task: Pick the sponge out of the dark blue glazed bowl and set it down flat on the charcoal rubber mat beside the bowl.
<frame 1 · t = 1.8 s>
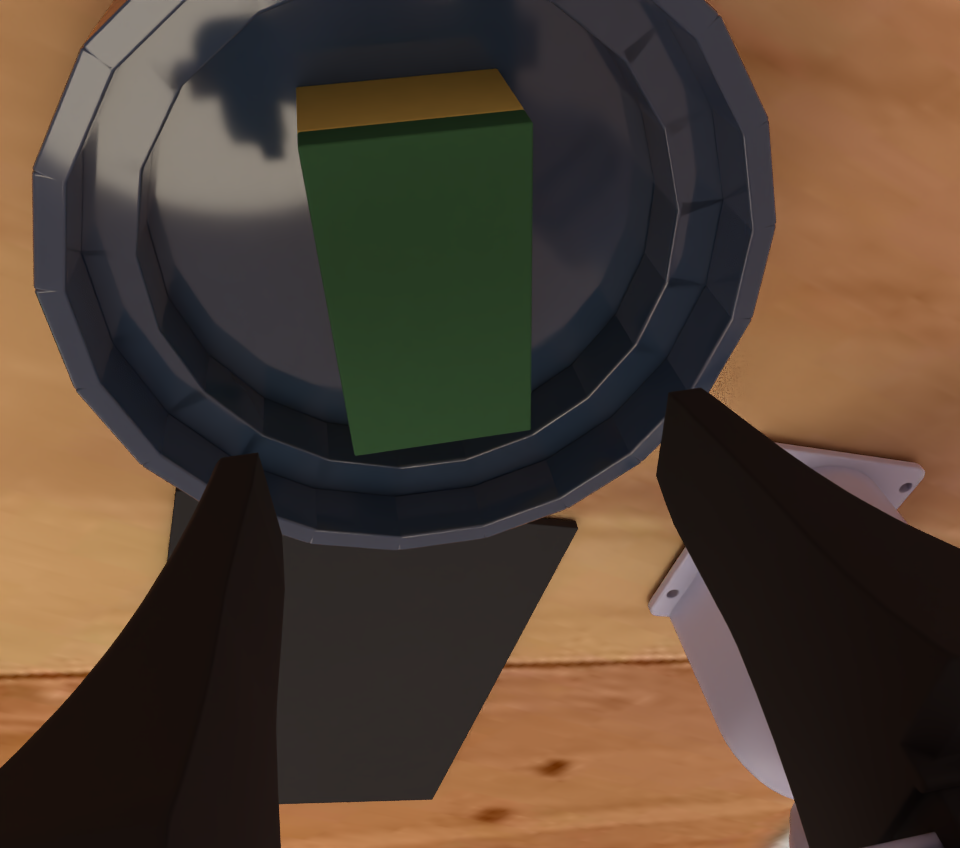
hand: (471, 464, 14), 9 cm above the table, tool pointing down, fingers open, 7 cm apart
drying mat: (334, 674, 33), on the table
bowl: (411, 227, 21), on the table
sponge: (413, 237, 21), point 1 cm above the table, touching bowl
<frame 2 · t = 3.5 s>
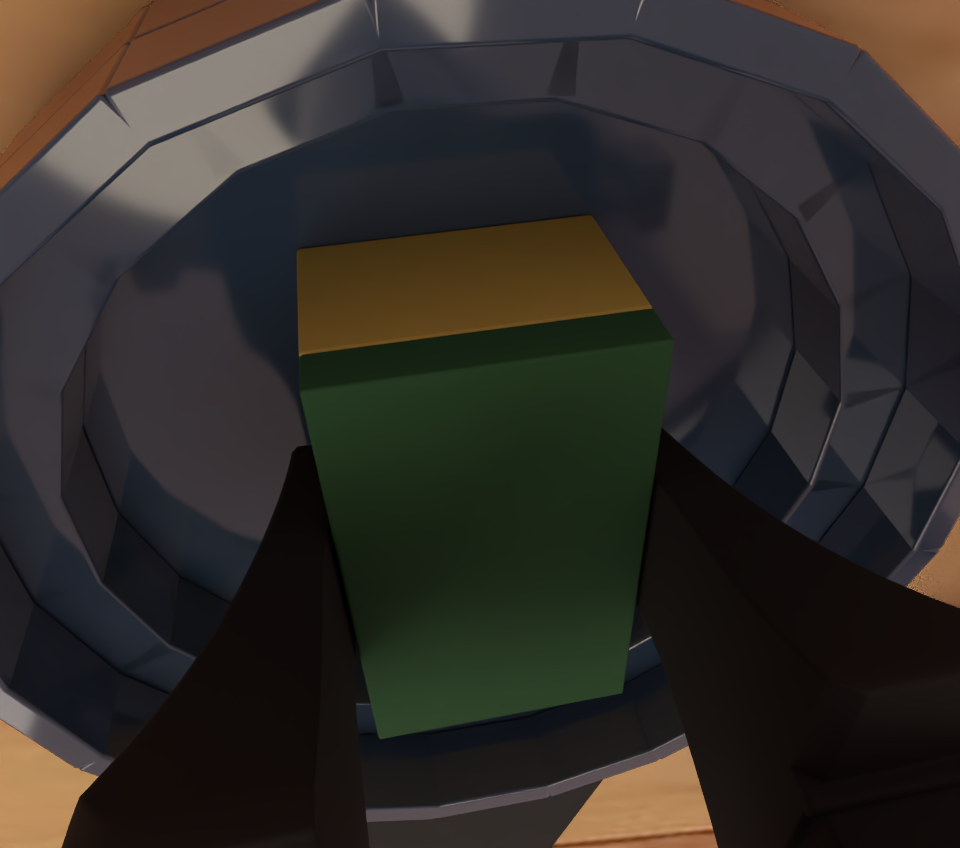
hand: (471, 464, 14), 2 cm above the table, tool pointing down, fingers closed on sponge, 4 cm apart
bowl: (456, 407, 15), on the table
sponge: (460, 428, 15), point 1 cm above the table, touching bowl, gripper
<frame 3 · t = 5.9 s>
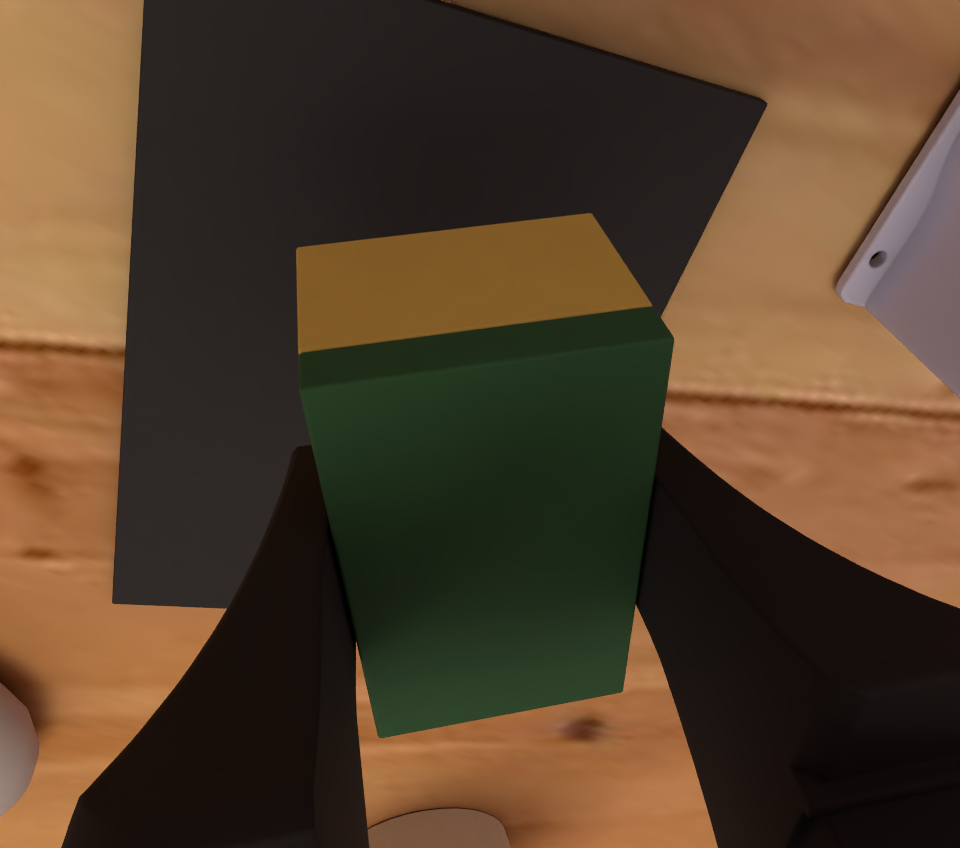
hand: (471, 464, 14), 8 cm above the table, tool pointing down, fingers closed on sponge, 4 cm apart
drying mat: (389, 383, 23), on the table
reusable coffee cup: (423, 845, 43), on the table
sponge: (460, 426, 15), point 7 cm above the table, touching gripper
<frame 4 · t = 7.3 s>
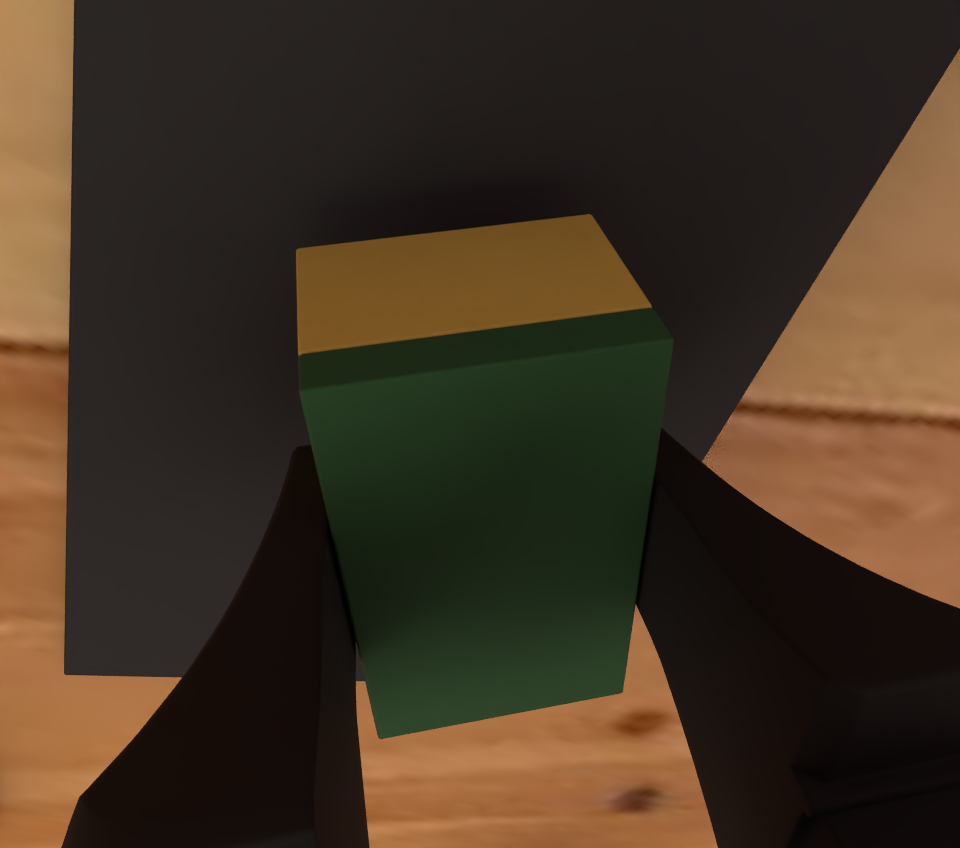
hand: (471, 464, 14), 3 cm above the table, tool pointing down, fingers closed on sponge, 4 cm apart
drying mat: (432, 393, 17), on the table
sponge: (460, 427, 15), point 2 cm above the table, touching gripper
when the fingers open (1 cm above the table, at t = 8.4 s): sponge stays where it is, resting on drying mat.
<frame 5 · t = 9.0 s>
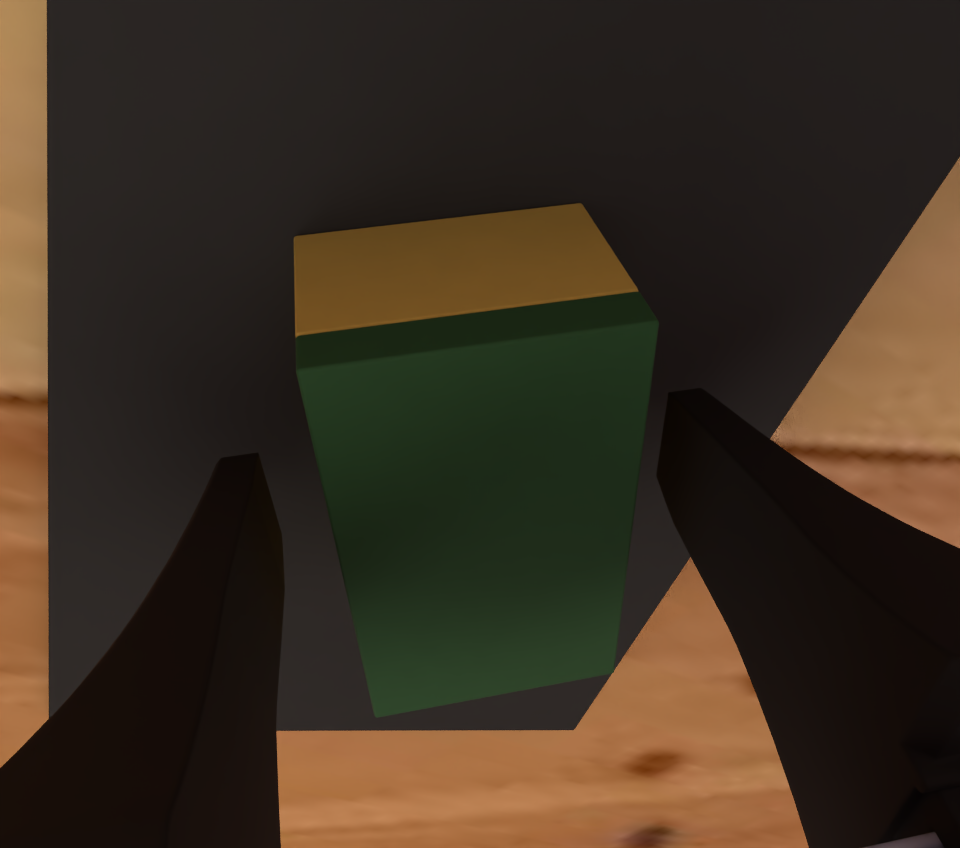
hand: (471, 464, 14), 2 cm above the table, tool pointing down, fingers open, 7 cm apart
drying mat: (440, 439, 16), on the table
sponge: (454, 413, 15), resting on drying mat
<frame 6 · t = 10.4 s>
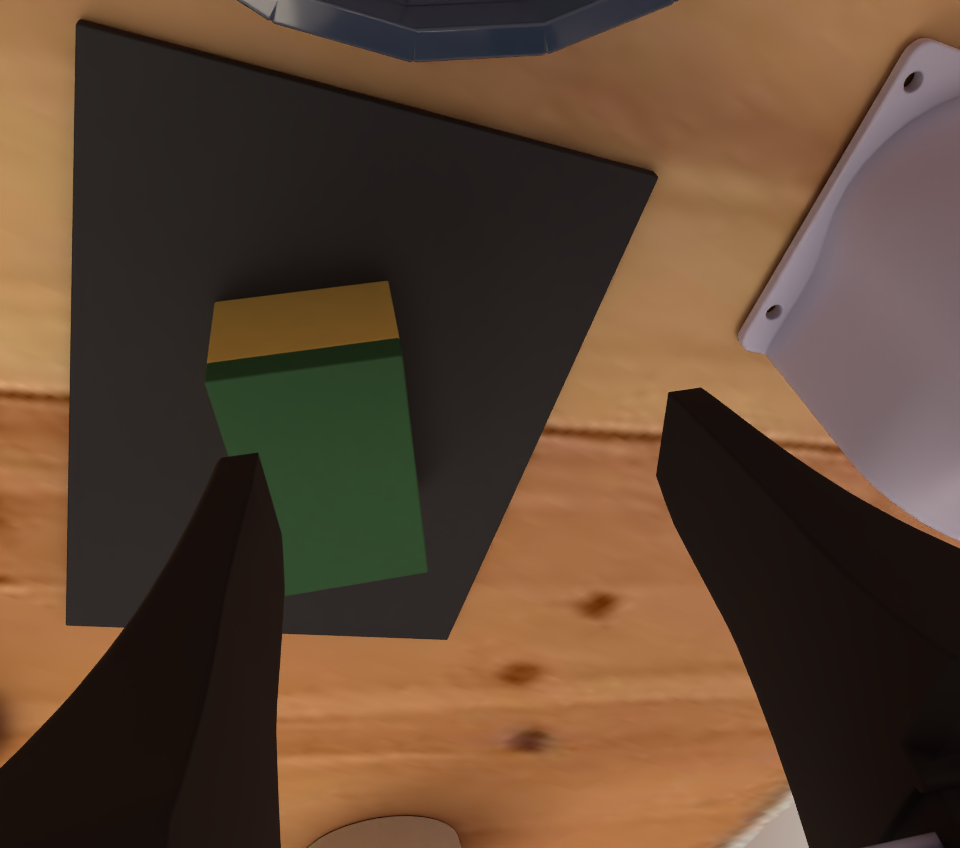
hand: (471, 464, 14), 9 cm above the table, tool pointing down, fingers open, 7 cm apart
drying mat: (321, 423, 25), on the table
sponge: (326, 406, 24), resting on drying mat
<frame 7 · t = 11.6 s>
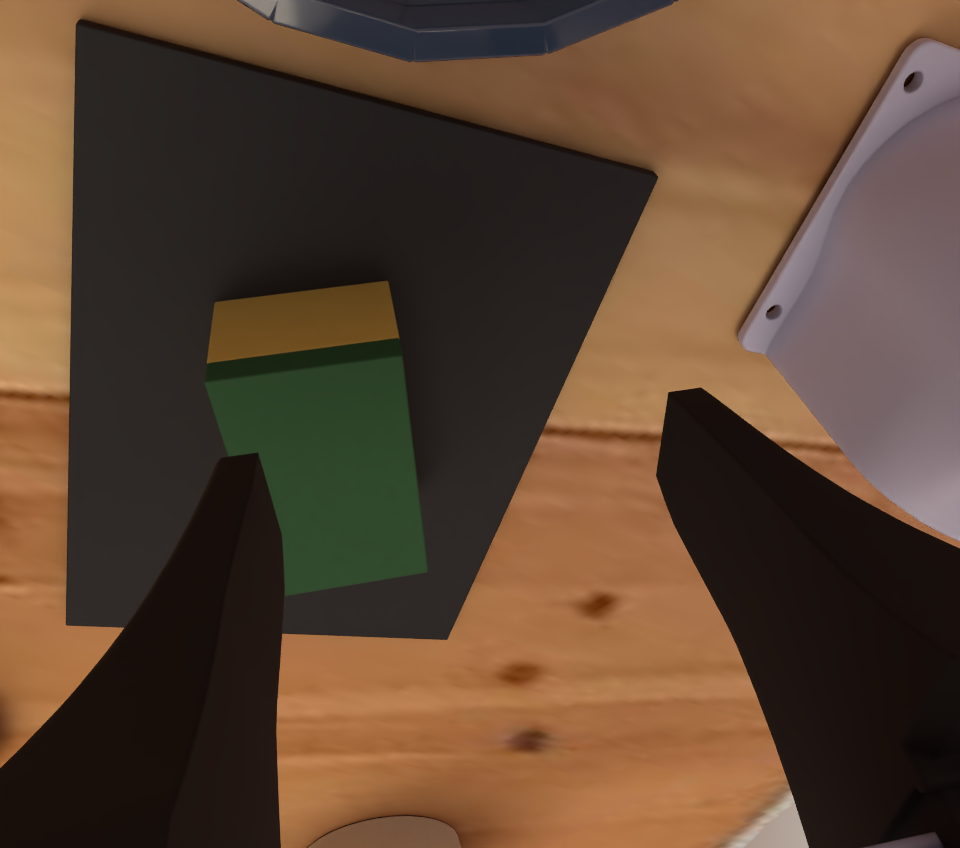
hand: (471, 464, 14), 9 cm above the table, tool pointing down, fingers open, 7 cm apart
drying mat: (321, 423, 25), on the table
sponge: (326, 406, 24), resting on drying mat
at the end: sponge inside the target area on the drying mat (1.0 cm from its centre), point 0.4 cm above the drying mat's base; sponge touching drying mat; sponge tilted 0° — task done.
